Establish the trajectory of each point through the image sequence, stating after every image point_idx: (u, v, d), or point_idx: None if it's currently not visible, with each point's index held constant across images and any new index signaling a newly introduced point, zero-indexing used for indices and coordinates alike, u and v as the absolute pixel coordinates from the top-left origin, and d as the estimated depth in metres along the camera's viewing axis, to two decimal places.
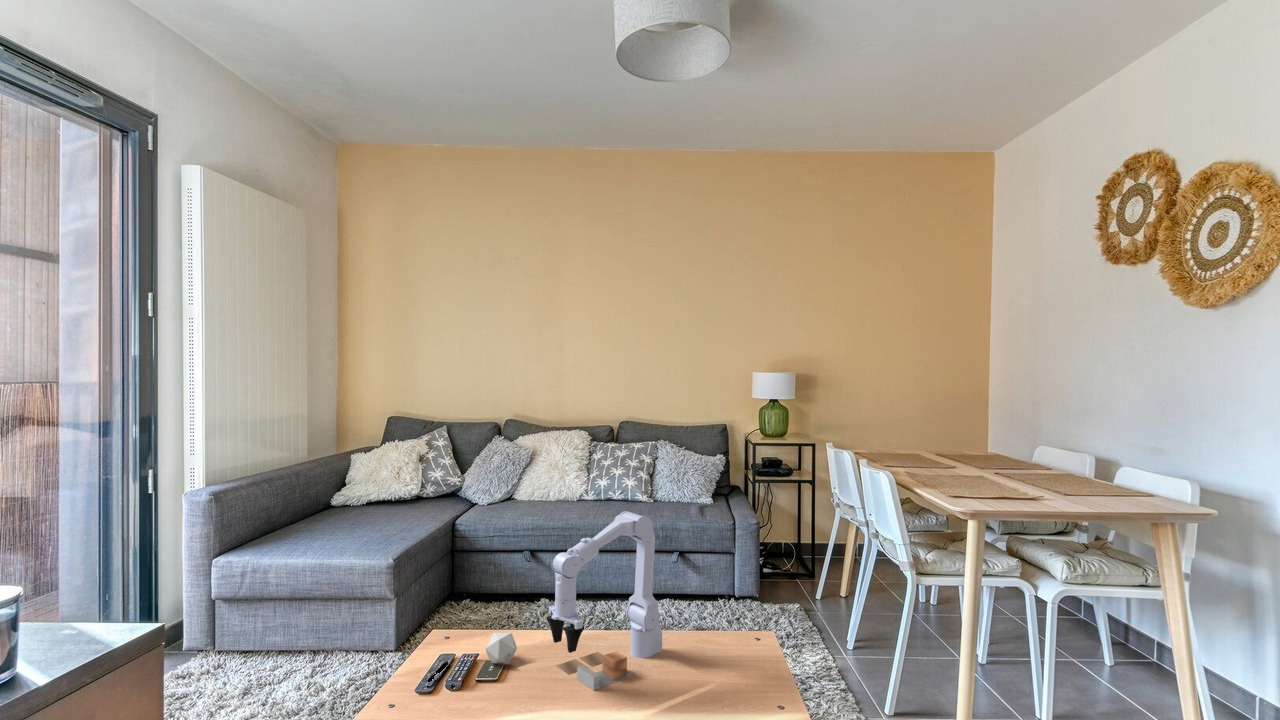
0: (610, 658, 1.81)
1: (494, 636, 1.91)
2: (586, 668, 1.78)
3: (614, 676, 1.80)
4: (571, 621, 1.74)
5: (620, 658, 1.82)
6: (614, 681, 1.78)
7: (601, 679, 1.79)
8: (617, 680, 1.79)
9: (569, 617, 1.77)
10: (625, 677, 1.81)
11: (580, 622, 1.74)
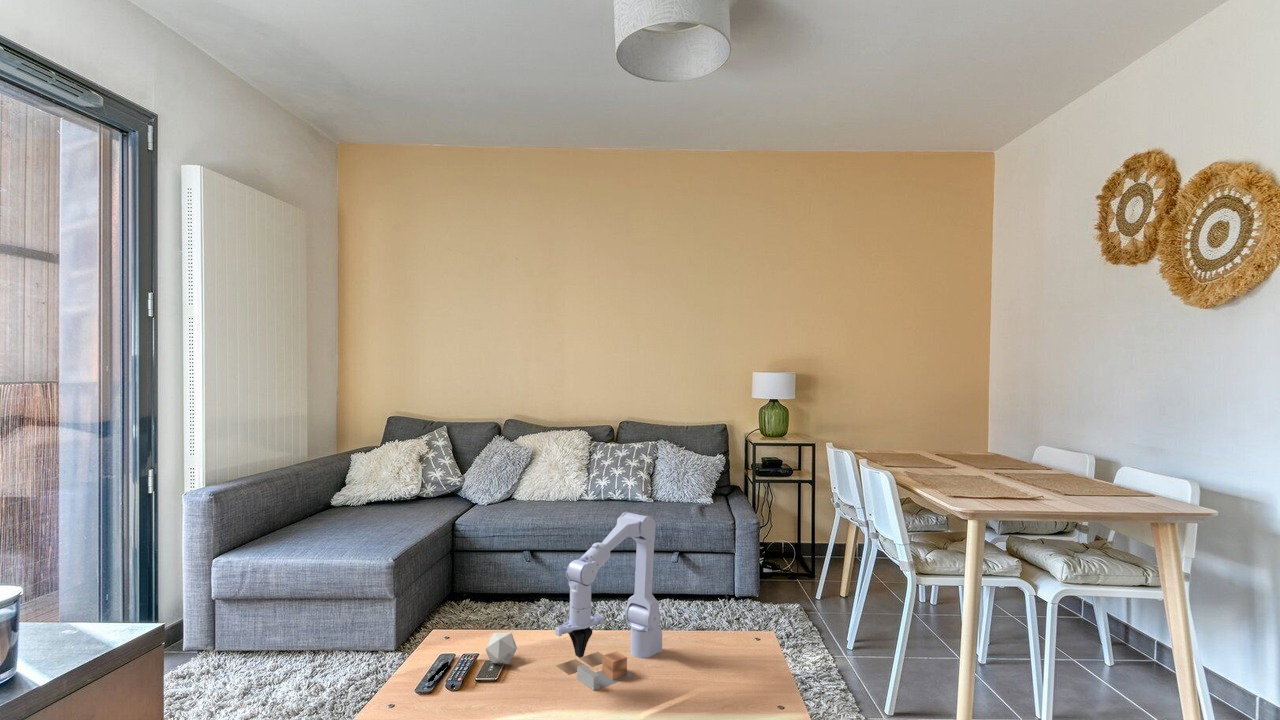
0: (610, 658, 1.81)
1: (494, 636, 1.91)
2: (586, 668, 1.78)
3: (614, 676, 1.80)
4: None
5: (620, 658, 1.82)
6: (614, 681, 1.78)
7: (601, 679, 1.79)
8: (617, 680, 1.79)
9: (569, 624, 1.74)
10: (625, 677, 1.81)
11: (557, 629, 1.70)
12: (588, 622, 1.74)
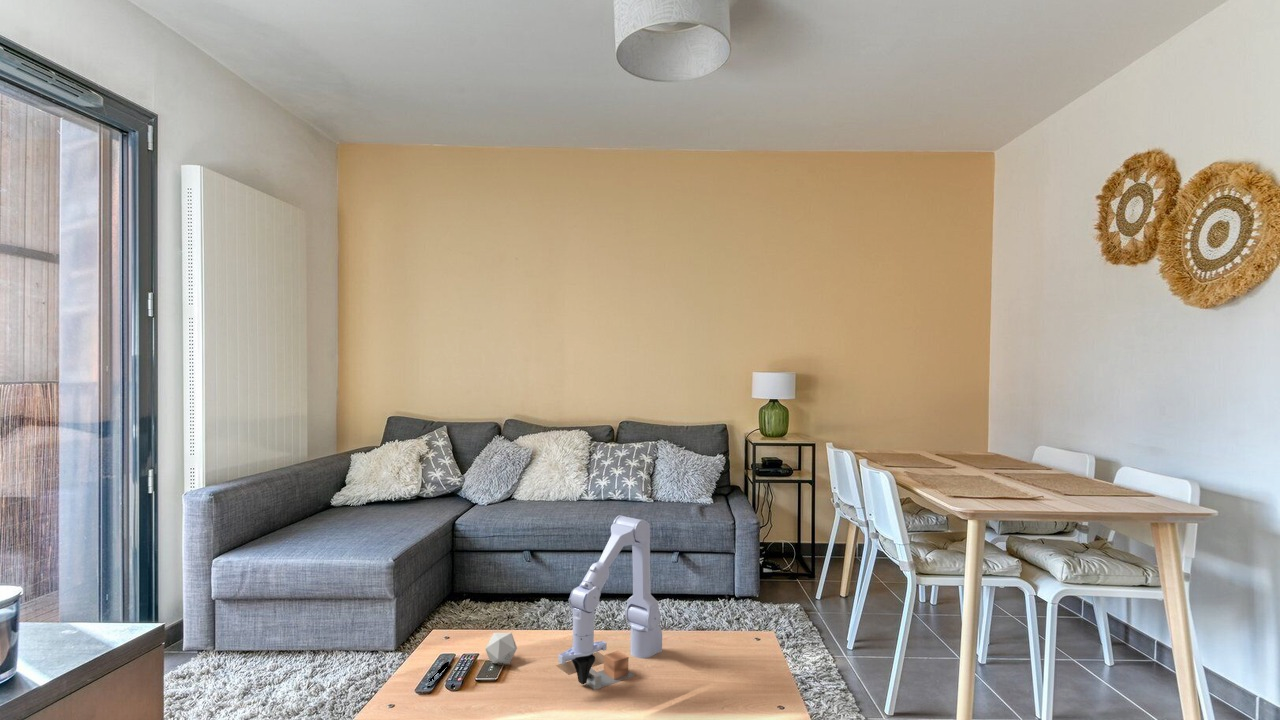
0: (611, 658, 1.82)
1: (494, 636, 1.91)
2: None
3: (615, 675, 1.80)
4: None
5: (621, 658, 1.82)
6: (615, 681, 1.79)
7: (603, 678, 1.80)
8: (618, 679, 1.79)
9: (572, 651, 1.74)
10: (626, 676, 1.81)
11: (560, 657, 1.71)
12: (591, 649, 1.74)
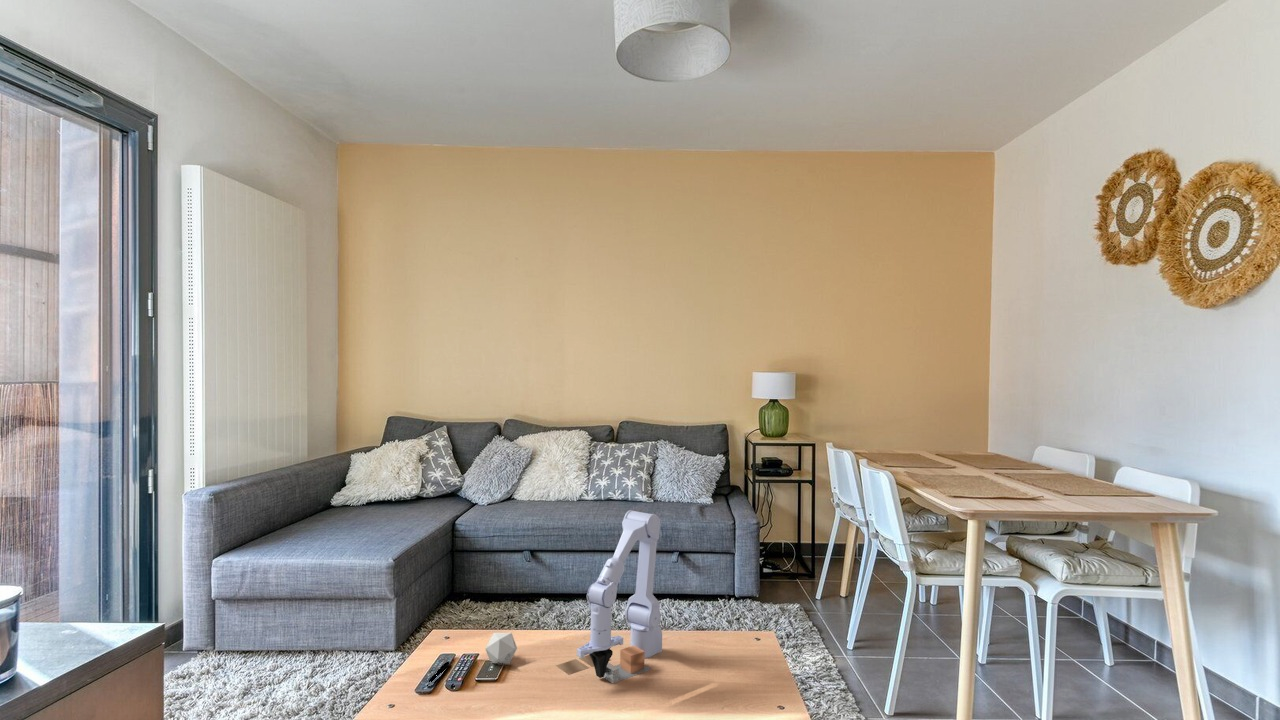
0: (628, 652, 1.85)
1: (494, 636, 1.91)
2: None
3: (632, 670, 1.84)
4: None
5: (637, 652, 1.86)
6: (632, 675, 1.82)
7: (619, 672, 1.83)
8: (635, 673, 1.83)
9: (590, 645, 1.78)
10: (643, 671, 1.85)
11: (579, 651, 1.75)
12: (608, 643, 1.78)
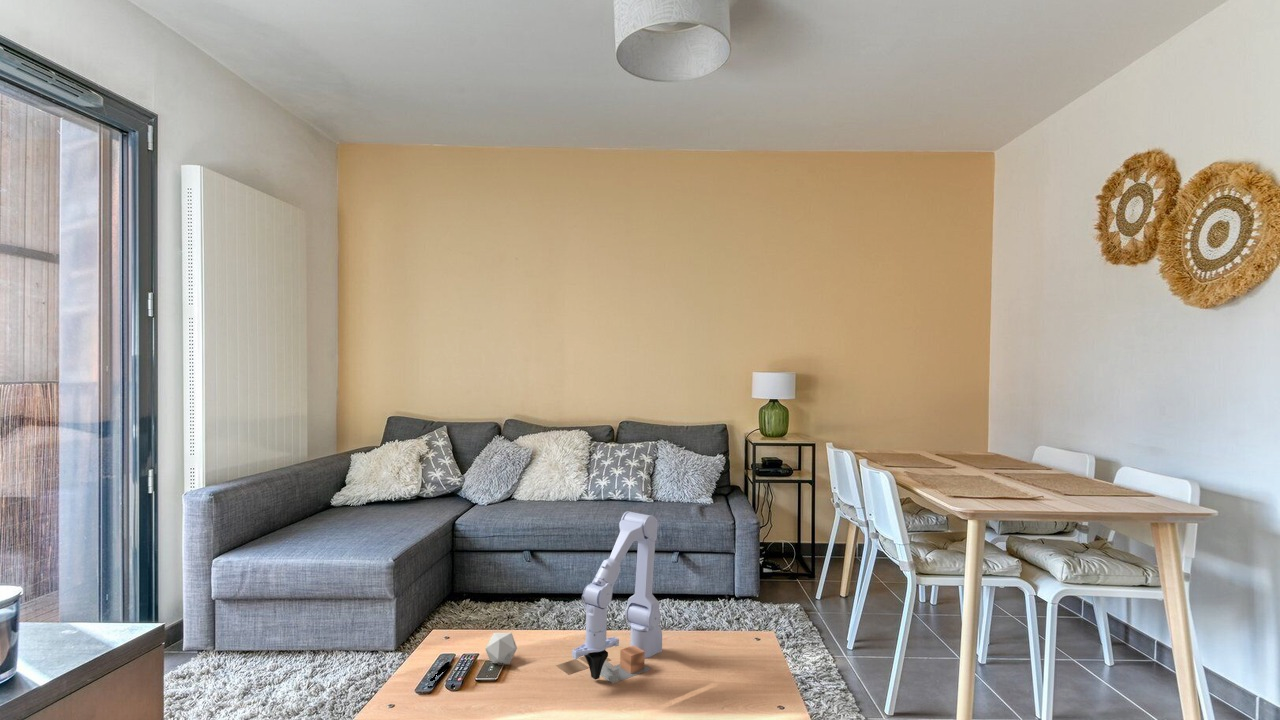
0: (628, 652, 1.85)
1: (494, 636, 1.91)
2: (605, 662, 1.82)
3: (632, 670, 1.84)
4: None
5: (637, 652, 1.86)
6: (632, 675, 1.82)
7: (619, 672, 1.83)
8: (635, 673, 1.83)
9: (586, 646, 1.77)
10: (643, 671, 1.85)
11: (574, 652, 1.74)
12: (604, 645, 1.77)
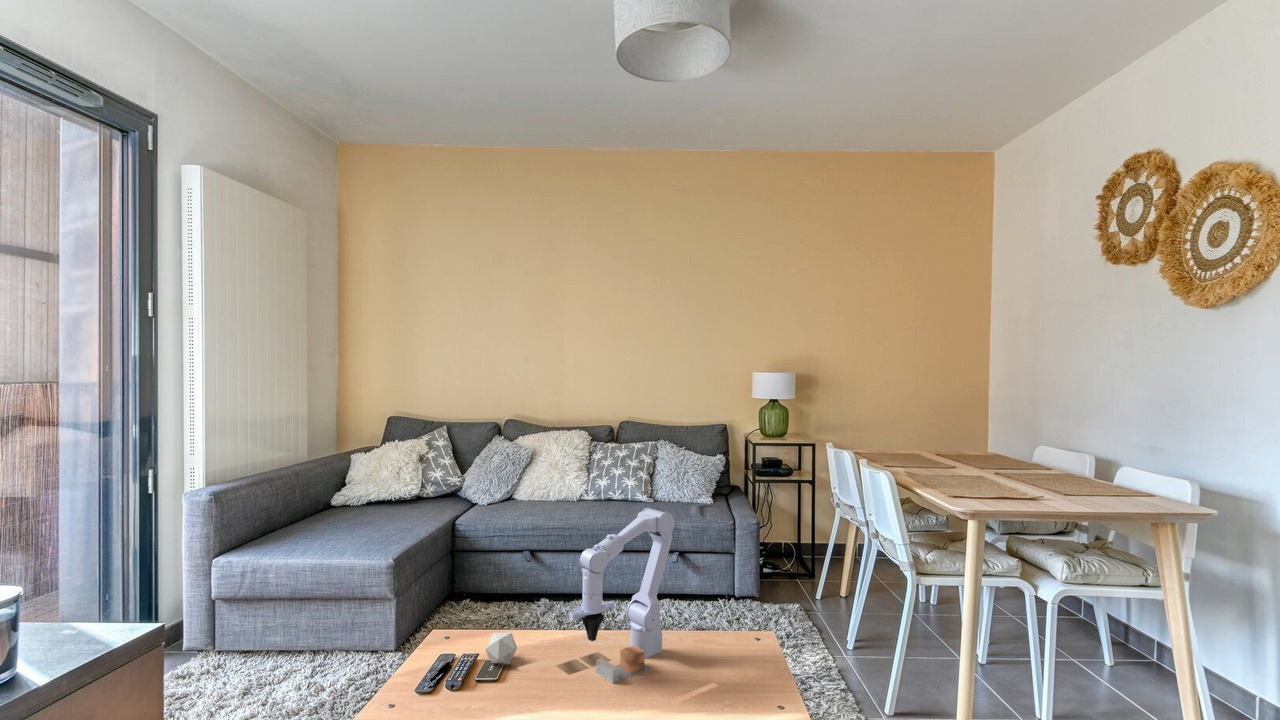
0: (628, 652, 1.85)
1: (494, 636, 1.91)
2: (605, 662, 1.82)
3: (632, 670, 1.84)
4: None
5: (637, 652, 1.86)
6: (632, 675, 1.82)
7: (619, 672, 1.83)
8: (635, 673, 1.83)
9: (582, 609, 1.83)
10: (643, 671, 1.85)
11: (571, 614, 1.80)
12: (600, 607, 1.83)
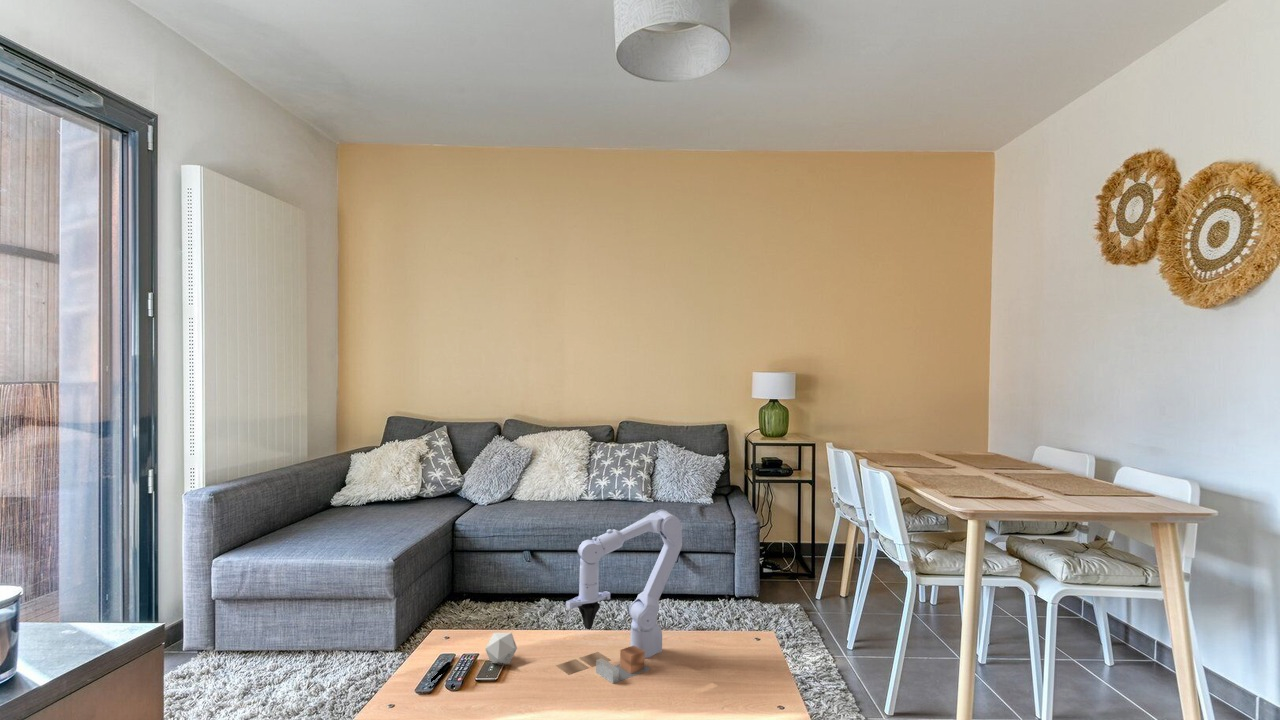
0: (628, 652, 1.85)
1: (494, 636, 1.91)
2: (605, 662, 1.82)
3: (632, 670, 1.84)
4: None
5: (637, 652, 1.86)
6: (632, 675, 1.82)
7: (619, 672, 1.83)
8: (635, 673, 1.83)
9: (579, 598, 1.90)
10: (643, 671, 1.85)
11: (568, 603, 1.87)
12: (596, 597, 1.90)
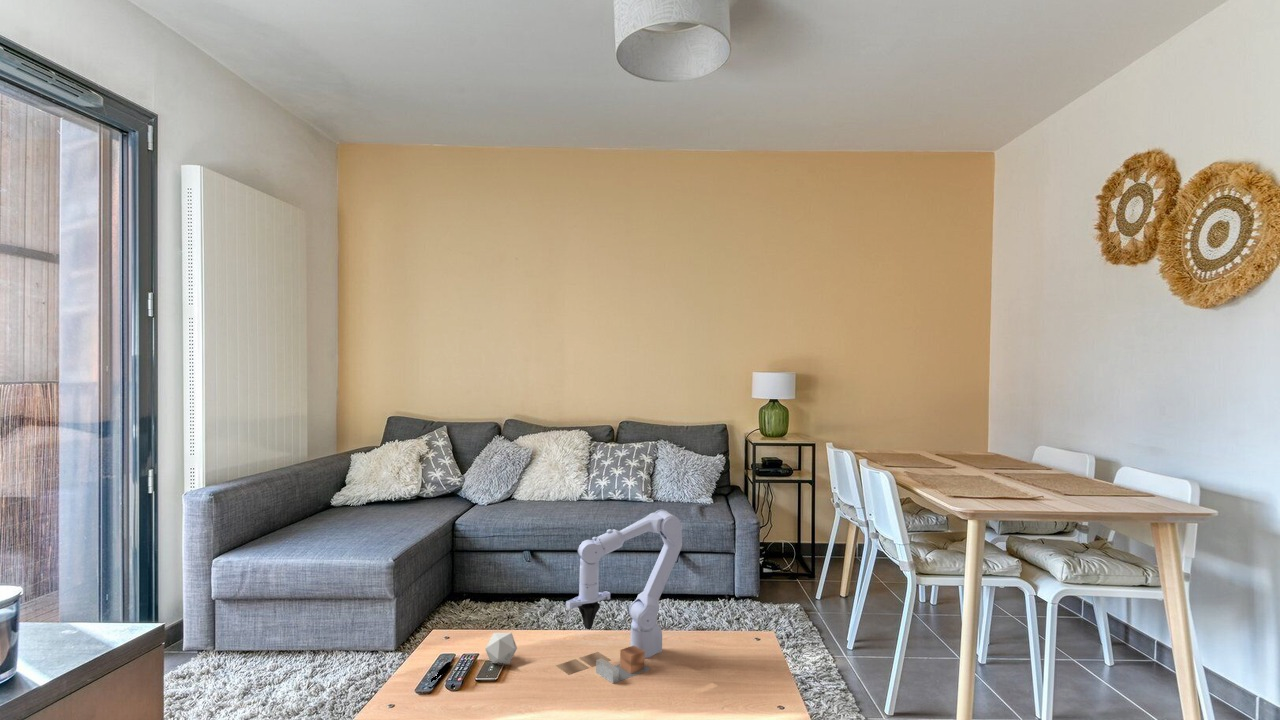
0: (628, 652, 1.85)
1: (494, 636, 1.91)
2: (605, 662, 1.82)
3: (632, 670, 1.84)
4: None
5: (637, 652, 1.86)
6: (632, 675, 1.82)
7: (619, 672, 1.83)
8: (635, 673, 1.83)
9: (579, 598, 1.90)
10: (643, 671, 1.85)
11: (568, 603, 1.87)
12: (596, 597, 1.90)
